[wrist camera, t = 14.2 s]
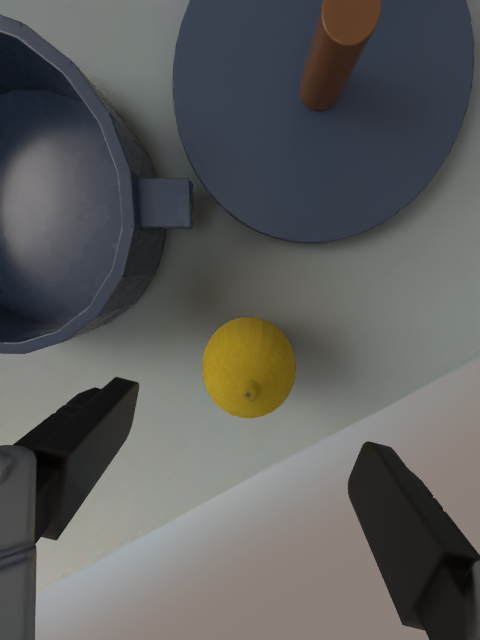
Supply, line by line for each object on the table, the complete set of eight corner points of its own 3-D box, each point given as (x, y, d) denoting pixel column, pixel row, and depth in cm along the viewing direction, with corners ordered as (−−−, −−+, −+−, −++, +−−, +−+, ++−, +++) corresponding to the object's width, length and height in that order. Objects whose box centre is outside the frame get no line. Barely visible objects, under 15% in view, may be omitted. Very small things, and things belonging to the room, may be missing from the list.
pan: (-134, 82, 17) (-295, 6, 12) (201, 78, 17) (180, -4, 12) (-75, 328, 21) (-182, 350, 16) (206, 333, 20) (191, 357, 15)
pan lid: (170, -75, 15) (121, -291, 9) (485, -84, 15) (645, -320, 9) (182, 243, 19) (151, 233, 13) (435, 244, 18) (525, 235, 12)
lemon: (228, 295, 20) (215, 317, 12) (298, 325, 20) (330, 366, 12) (201, 361, 21) (171, 422, 13) (267, 389, 21) (277, 464, 13)
